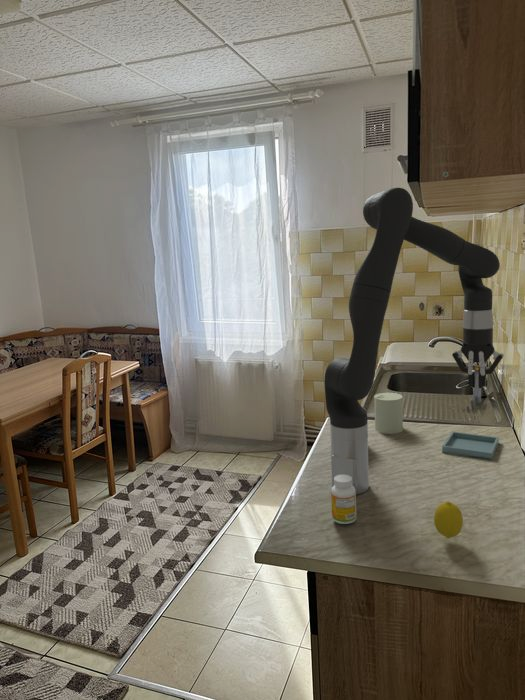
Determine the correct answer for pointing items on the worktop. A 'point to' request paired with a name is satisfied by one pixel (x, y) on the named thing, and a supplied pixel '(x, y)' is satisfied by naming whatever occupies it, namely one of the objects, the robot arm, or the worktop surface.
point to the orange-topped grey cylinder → (476, 384)
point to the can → (388, 413)
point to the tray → (471, 445)
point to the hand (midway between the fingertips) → (477, 387)
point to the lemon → (448, 519)
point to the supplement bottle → (343, 500)
